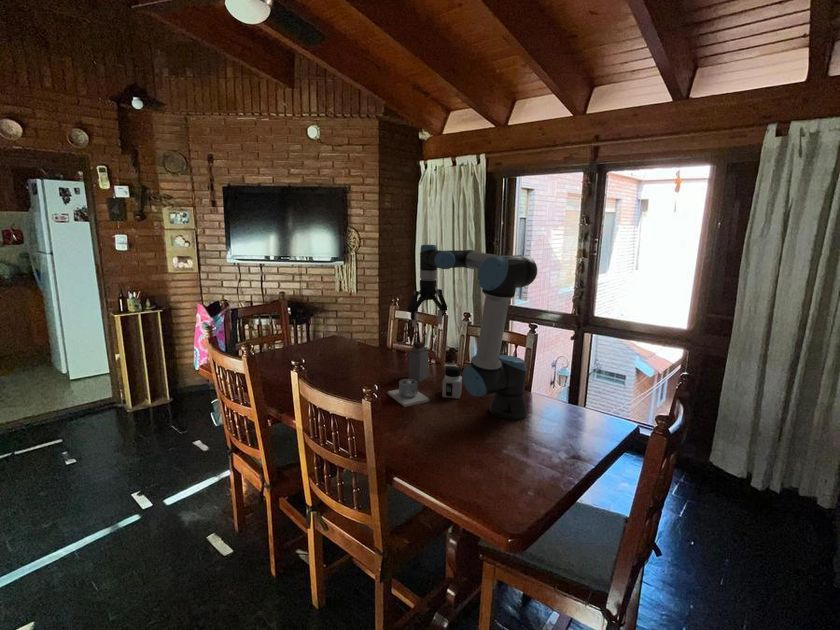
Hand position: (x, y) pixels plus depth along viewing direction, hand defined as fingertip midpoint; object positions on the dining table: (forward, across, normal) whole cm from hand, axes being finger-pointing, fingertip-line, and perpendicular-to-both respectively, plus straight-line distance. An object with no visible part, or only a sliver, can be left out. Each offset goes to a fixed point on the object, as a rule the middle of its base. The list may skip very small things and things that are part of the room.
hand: (427, 325), depth 202 cm
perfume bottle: (+29, -1, -9) cm, 30 cm away
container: (+29, -4, +16) cm, 33 cm away
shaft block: (+29, +15, +10) cm, 34 cm away
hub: (+26, +15, +10) cm, 32 cm away
